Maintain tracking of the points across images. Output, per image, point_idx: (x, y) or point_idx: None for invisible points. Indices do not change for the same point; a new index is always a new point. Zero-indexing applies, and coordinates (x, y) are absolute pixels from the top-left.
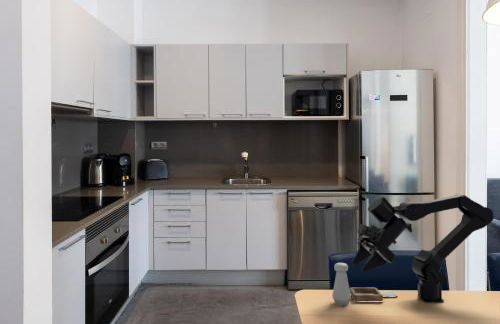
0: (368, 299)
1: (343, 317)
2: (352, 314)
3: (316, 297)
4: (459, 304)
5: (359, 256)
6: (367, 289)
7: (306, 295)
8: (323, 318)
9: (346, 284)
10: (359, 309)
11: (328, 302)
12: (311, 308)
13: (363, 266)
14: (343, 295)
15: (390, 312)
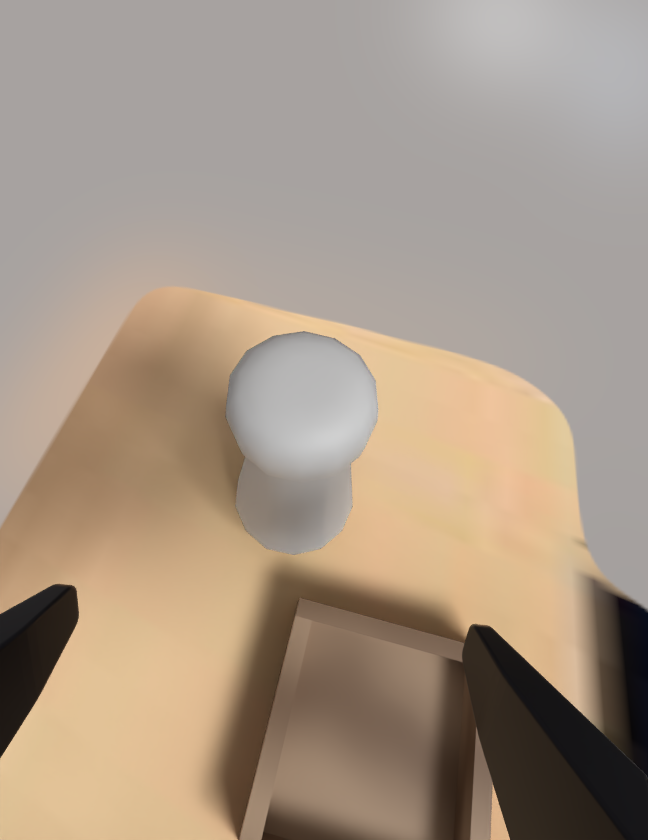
0: (271, 708)
1: (93, 425)
2: (109, 486)
3: (428, 421)
4: None
5: (562, 833)
6: (466, 819)
7: (467, 388)
8: (125, 342)
9: (250, 487)
10: (166, 565)
11: None
12: None
13: (30, 611)
14: (239, 476)
15: (15, 768)
